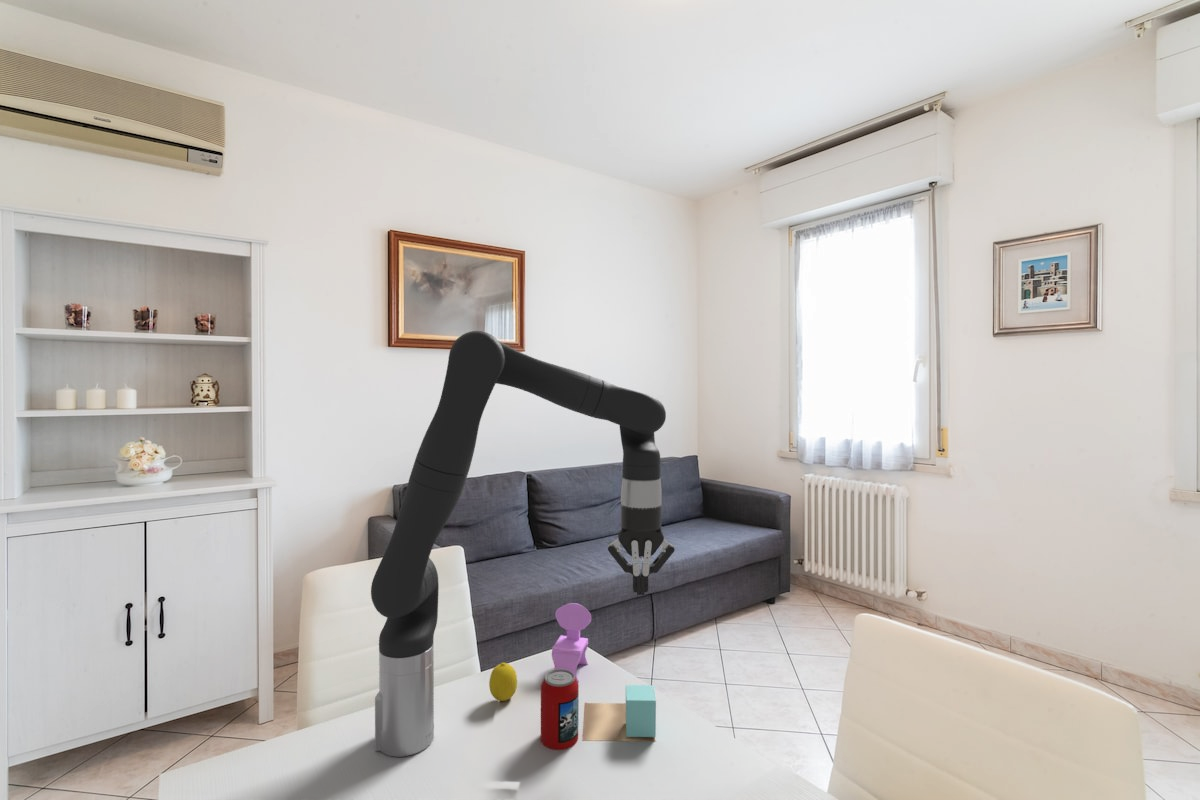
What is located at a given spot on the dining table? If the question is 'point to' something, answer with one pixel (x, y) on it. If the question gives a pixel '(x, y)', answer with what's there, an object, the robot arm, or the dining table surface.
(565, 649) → the toy chair
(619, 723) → the board
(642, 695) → the aqua foam cube
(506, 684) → the lemon
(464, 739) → the dining table surface
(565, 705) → the beverage can
